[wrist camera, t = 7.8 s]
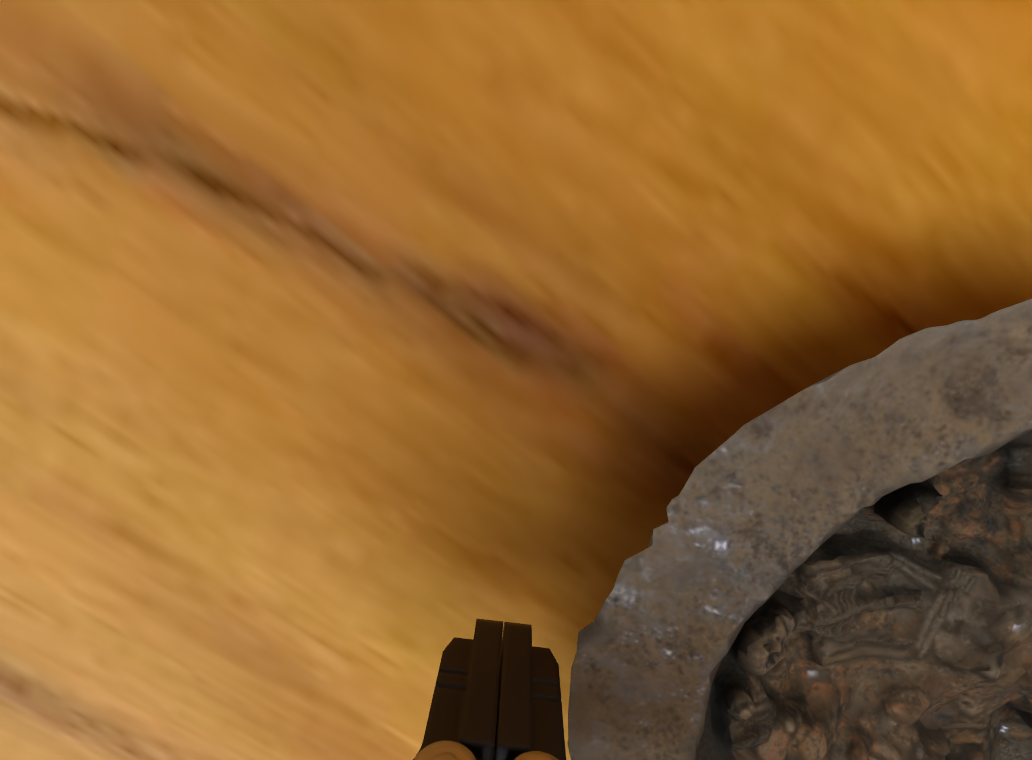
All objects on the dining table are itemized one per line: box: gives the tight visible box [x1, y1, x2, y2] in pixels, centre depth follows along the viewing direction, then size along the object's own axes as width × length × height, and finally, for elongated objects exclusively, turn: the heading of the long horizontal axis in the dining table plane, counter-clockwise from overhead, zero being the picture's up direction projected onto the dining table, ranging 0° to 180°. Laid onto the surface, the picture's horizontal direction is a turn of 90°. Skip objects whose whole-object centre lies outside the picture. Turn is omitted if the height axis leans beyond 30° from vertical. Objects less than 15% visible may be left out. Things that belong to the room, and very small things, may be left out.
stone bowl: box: [568, 299, 1032, 760], centre depth 13 cm, size 25×25×9 cm
